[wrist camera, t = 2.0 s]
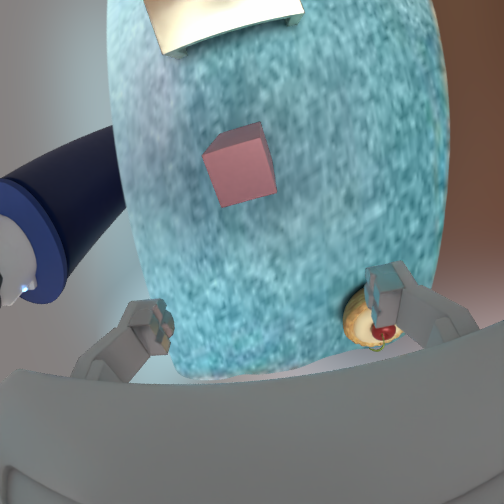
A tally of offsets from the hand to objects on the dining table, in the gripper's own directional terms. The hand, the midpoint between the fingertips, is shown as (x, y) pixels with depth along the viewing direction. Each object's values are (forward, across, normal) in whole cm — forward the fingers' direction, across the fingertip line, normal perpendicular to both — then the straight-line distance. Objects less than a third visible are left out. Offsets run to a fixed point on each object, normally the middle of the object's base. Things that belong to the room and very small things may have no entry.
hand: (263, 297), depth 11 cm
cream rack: (+26, 0, +19) cm, 32 cm away
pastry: (+26, +14, -28) cm, 40 cm away
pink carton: (+26, -2, +1) cm, 26 cm away
